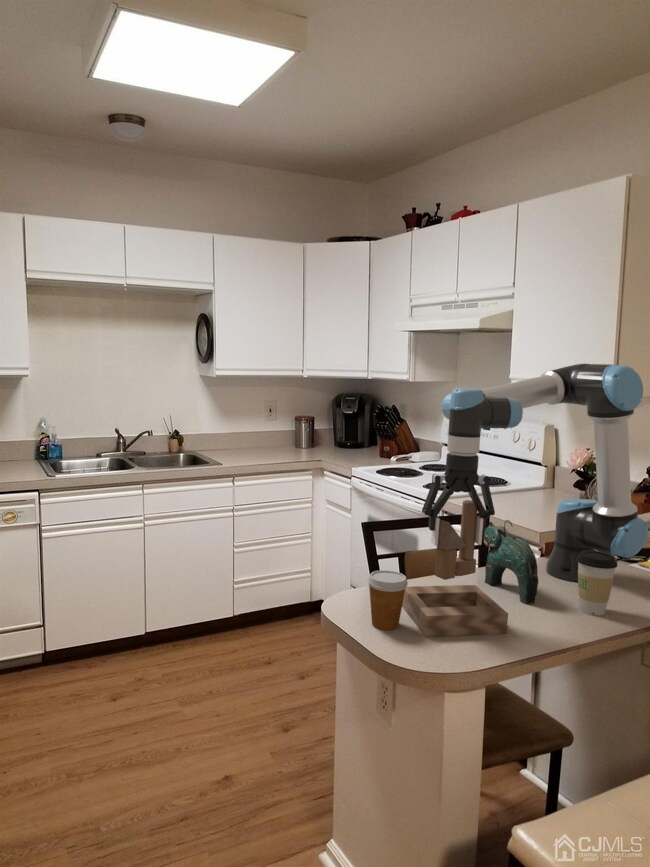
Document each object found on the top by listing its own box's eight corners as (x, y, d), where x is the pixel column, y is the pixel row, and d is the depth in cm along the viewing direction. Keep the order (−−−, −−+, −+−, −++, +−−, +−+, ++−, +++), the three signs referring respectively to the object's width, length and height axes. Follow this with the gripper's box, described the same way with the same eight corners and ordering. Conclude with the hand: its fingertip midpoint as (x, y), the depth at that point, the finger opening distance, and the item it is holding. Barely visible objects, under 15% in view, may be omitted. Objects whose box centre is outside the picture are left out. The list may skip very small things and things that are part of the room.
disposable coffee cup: (358, 619, 160) (360, 571, 159) (392, 614, 164) (395, 568, 162) (376, 635, 151) (379, 585, 150) (412, 630, 155) (415, 581, 154)
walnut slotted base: (474, 603, 174) (475, 584, 173) (506, 633, 155) (508, 613, 155) (401, 605, 170) (402, 586, 170) (425, 636, 152) (426, 616, 151)
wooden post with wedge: (434, 575, 160) (438, 503, 158) (464, 569, 166) (470, 499, 164) (444, 580, 157) (450, 506, 155) (476, 573, 163) (481, 502, 161)
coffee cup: (582, 601, 179) (587, 547, 177) (618, 612, 172) (624, 556, 170) (565, 609, 172) (570, 554, 170) (603, 621, 165) (608, 563, 163)
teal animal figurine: (478, 581, 192) (483, 513, 189) (496, 579, 194) (501, 512, 192) (523, 606, 173) (529, 532, 171) (542, 603, 176) (549, 530, 174)
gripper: (500, 451, 164) (493, 538, 166) (411, 450, 159) (406, 539, 162) (514, 456, 156) (507, 547, 159) (422, 454, 152) (415, 548, 155)
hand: (456, 543), depth 160 cm, fingers closed on wooden post with wedge, 10 cm apart
